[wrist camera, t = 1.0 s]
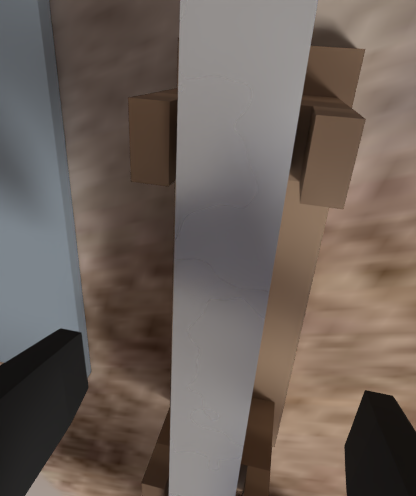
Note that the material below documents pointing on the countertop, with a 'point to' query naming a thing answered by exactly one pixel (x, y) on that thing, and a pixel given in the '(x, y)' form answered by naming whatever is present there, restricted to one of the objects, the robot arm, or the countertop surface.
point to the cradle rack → (289, 241)
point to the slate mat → (34, 188)
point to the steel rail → (228, 219)
